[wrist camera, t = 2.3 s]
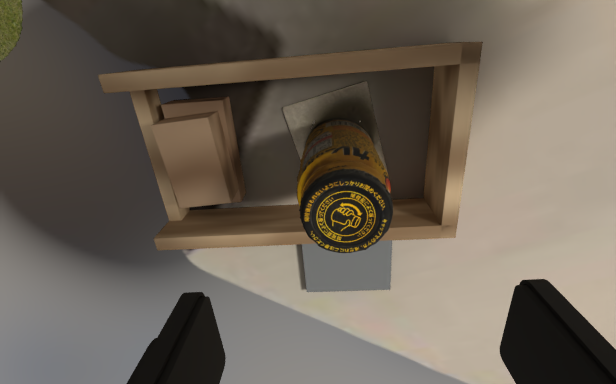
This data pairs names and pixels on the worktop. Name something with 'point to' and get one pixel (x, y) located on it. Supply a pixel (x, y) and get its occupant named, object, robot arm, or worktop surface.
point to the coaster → (347, 268)
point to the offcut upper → (196, 159)
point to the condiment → (341, 170)
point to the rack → (286, 218)
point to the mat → (9, 25)
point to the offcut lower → (225, 114)
